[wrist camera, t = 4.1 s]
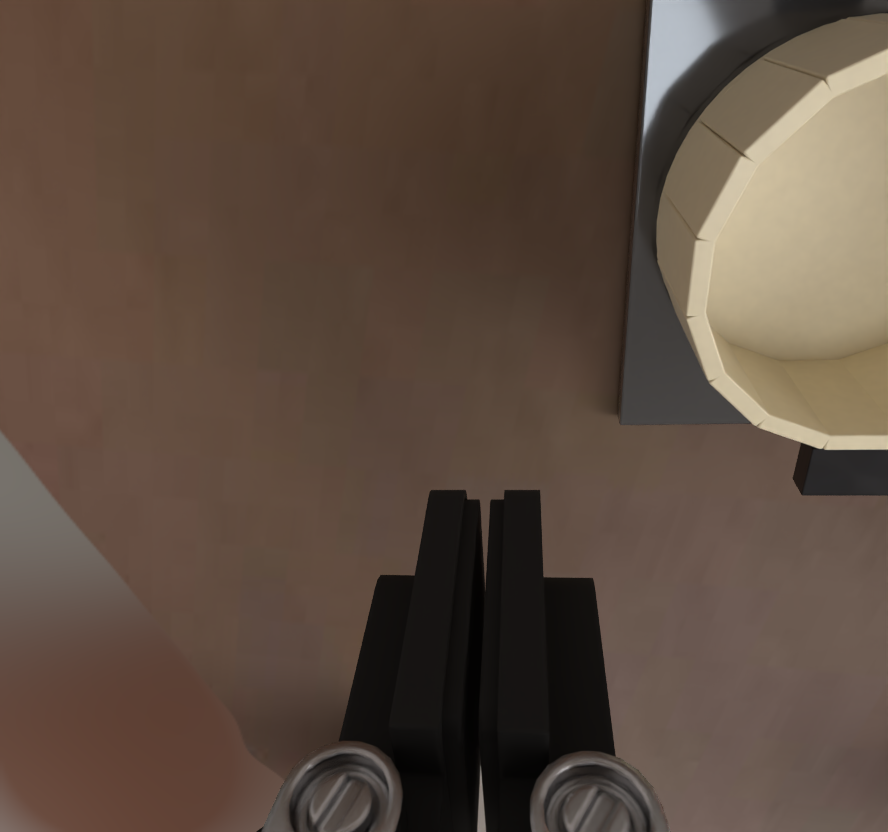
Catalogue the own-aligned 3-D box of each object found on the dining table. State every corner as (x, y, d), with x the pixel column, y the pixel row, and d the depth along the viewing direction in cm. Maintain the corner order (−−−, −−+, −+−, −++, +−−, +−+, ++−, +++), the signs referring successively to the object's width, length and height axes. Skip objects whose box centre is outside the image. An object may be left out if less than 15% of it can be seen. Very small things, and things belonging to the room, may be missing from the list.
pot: (639, 410, 30) (664, 497, 25) (679, -46, 21) (730, -54, 16) (949, 406, 28) (1043, 498, 23) (1127, -85, 20) (1335, -107, 15)
